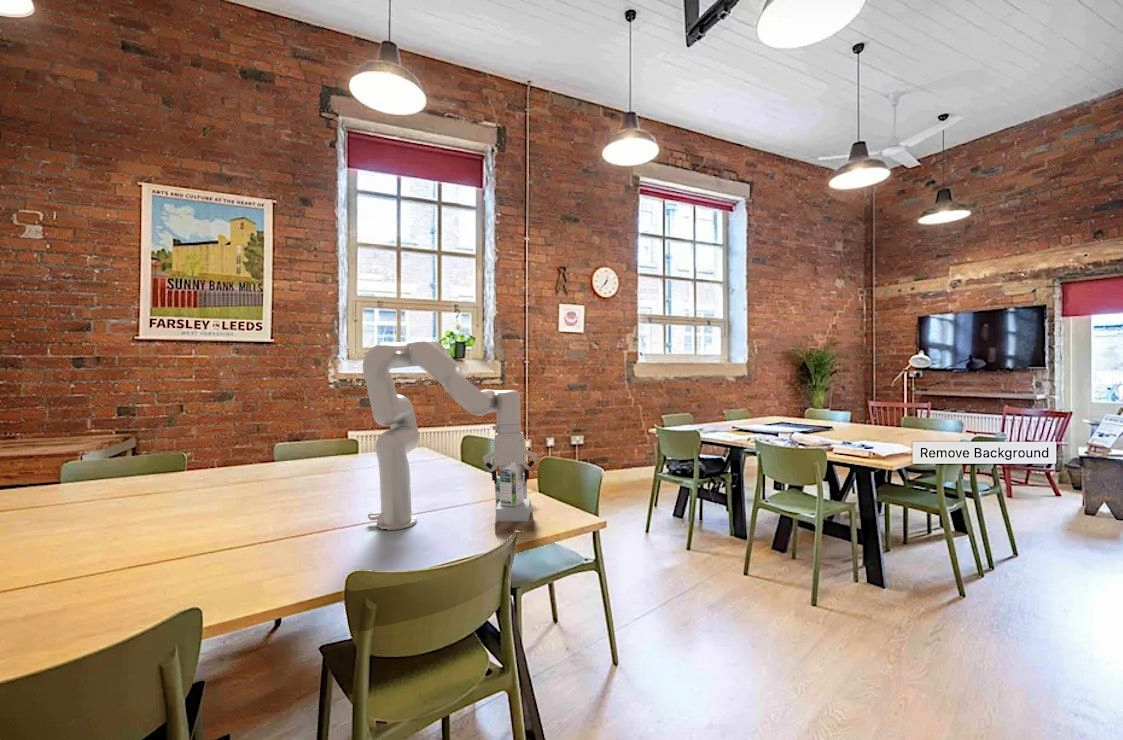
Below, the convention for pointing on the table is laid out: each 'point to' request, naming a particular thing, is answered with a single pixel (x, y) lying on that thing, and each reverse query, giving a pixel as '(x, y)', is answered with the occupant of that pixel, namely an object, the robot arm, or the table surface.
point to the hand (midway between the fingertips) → (510, 481)
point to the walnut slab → (514, 525)
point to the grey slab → (514, 512)
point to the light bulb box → (497, 489)
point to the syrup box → (511, 485)
